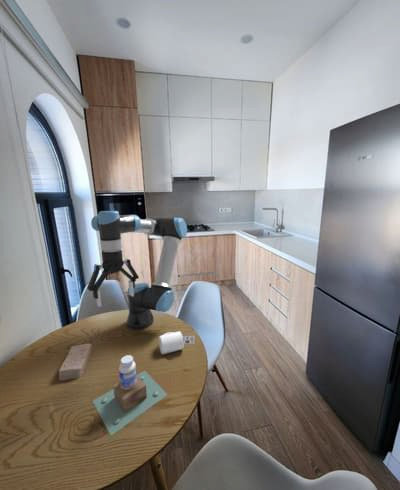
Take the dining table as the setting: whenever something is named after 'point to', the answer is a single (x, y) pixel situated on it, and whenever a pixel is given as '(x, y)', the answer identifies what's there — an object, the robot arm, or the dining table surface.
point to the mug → (171, 342)
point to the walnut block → (130, 395)
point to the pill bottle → (127, 372)
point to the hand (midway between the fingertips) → (116, 300)
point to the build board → (116, 416)
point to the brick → (75, 362)
